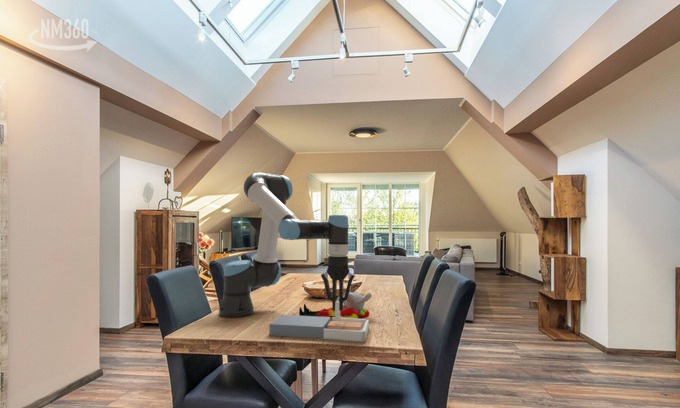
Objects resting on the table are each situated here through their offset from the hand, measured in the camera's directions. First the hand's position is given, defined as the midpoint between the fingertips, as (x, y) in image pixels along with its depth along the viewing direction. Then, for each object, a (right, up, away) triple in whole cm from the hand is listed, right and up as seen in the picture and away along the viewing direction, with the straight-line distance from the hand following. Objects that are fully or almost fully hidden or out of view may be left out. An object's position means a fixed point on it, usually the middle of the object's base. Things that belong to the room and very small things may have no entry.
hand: (337, 319), depth 134 cm
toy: (+7, -8, +34) cm, 36 cm away
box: (+4, -5, -1) cm, 6 cm away
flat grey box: (-14, -5, +2) cm, 15 cm away
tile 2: (+6, -2, -1) cm, 6 cm away
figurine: (-1, -7, +21) cm, 22 cm away
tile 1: (0, -5, 0) cm, 5 cm away
